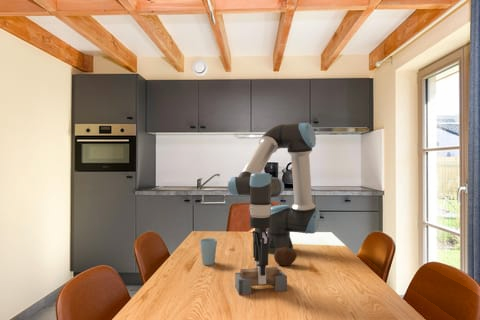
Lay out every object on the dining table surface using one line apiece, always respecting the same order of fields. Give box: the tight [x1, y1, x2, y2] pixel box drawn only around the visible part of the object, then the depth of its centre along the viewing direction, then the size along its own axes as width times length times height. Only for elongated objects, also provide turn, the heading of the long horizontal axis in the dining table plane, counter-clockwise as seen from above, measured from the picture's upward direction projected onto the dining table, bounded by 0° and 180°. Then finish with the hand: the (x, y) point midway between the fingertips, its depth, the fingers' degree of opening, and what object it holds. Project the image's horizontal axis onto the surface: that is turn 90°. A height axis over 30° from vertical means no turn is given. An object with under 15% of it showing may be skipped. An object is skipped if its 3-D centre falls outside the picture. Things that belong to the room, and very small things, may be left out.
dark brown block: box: [240, 266, 281, 287], centre depth 112 cm, size 14×4×5 cm, turn 101°
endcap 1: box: [234, 272, 252, 296], centre depth 110 cm, size 4×7×5 cm, turn 12°
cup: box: [199, 237, 218, 266], centre depth 141 cm, size 8×8×10 cm
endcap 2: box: [274, 268, 288, 292], centre depth 113 cm, size 4×7×5 cm, turn 12°
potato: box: [273, 247, 298, 266], centre depth 138 cm, size 7×10×8 cm
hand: (260, 281), depth 112 cm, fingers closed on dark brown block, 3 cm apart
